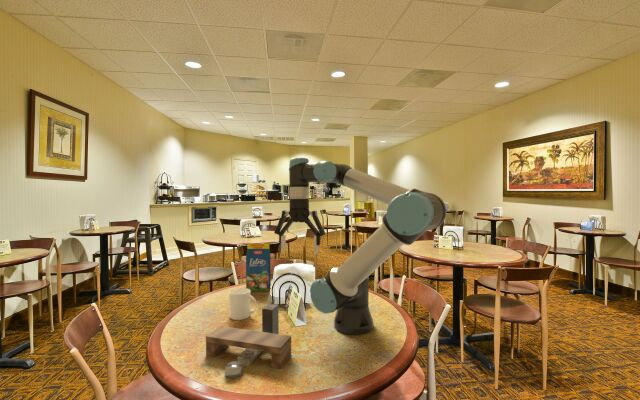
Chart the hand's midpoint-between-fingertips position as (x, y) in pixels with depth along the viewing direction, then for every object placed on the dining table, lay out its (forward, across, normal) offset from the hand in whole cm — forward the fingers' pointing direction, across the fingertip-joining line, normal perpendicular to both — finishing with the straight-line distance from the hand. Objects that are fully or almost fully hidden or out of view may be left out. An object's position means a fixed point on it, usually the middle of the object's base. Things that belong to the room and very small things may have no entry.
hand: (299, 252), depth 119 cm
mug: (+29, +26, -2) cm, 39 cm away
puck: (+29, +7, +35) cm, 46 cm away
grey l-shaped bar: (+29, +7, +19) cm, 35 cm away
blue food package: (+29, +38, -37) cm, 60 cm away
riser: (+29, +8, +25) cm, 39 cm away
